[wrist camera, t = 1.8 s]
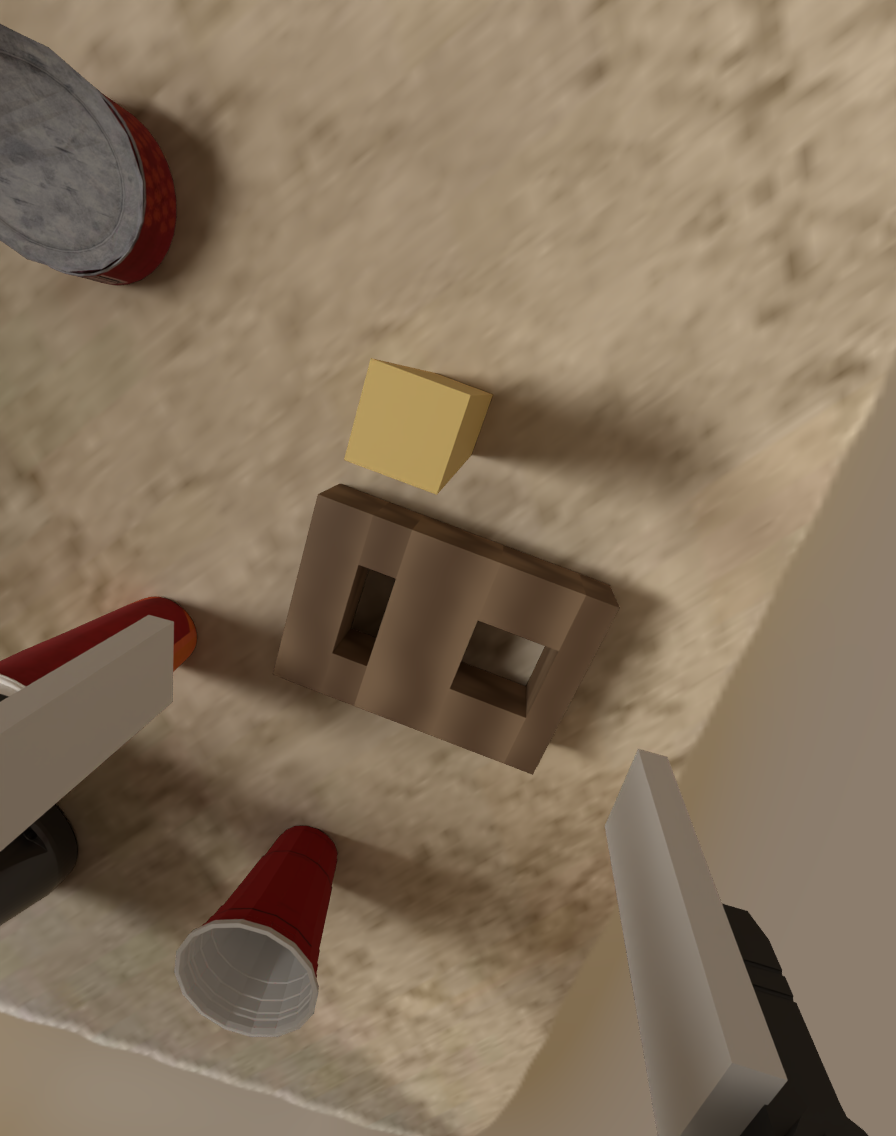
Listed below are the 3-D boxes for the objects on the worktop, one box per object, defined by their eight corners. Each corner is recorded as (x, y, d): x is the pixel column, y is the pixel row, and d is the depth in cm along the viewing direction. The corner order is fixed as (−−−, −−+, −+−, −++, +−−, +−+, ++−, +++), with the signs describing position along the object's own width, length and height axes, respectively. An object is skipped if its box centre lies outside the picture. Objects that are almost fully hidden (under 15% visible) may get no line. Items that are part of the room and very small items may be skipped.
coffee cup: (103, 587, 41) (-117, 687, 27) (193, 578, 40) (11, 680, 25) (136, 677, 44) (-48, 812, 30) (223, 672, 42) (72, 812, 28)
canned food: (177, 141, 34) (145, 23, 25) (196, 303, 36) (173, 250, 27) (-32, 107, 30) (-161, -45, 21) (4, 290, 33) (-99, 224, 23)
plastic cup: (382, 832, 45) (335, 977, 34) (343, 906, 49) (289, 1058, 38) (272, 782, 45) (188, 910, 34) (241, 860, 49) (157, 998, 38)
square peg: (414, 433, 33) (344, 459, 20) (433, 372, 32) (370, 358, 19) (471, 455, 33) (436, 494, 20) (493, 394, 32) (470, 395, 19)
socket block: (296, 648, 40) (272, 674, 36) (339, 483, 35) (317, 494, 32) (531, 738, 40) (532, 774, 36) (609, 584, 35) (619, 607, 31)
